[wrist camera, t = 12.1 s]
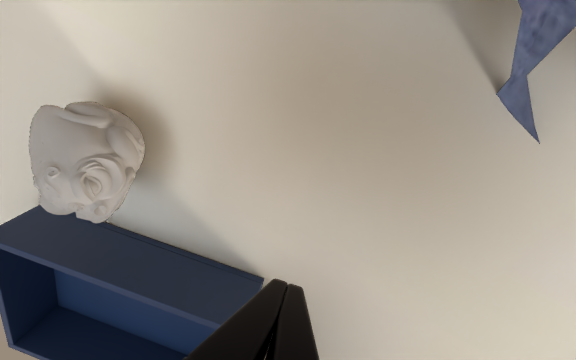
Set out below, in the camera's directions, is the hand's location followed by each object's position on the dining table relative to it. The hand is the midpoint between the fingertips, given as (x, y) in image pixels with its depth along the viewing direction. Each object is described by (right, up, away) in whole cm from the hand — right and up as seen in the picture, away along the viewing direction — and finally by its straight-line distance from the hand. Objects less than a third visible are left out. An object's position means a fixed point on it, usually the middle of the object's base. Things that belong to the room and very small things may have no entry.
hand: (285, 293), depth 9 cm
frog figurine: (-11, +6, +14) cm, 18 cm away
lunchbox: (-12, -7, +19) cm, 24 cm away
